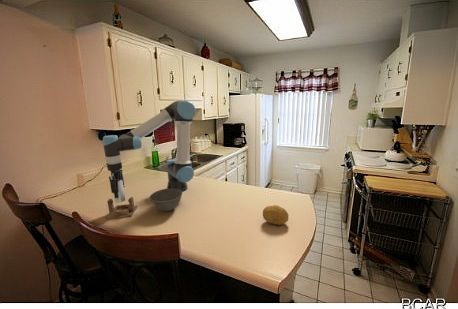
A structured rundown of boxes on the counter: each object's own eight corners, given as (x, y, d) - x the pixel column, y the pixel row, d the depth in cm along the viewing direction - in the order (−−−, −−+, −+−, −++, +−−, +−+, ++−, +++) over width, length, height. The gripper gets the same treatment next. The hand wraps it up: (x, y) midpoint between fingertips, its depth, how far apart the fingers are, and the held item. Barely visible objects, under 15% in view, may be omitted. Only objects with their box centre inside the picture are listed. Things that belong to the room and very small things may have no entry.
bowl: (150, 206, 137) (148, 191, 135) (180, 200, 144) (179, 186, 142) (153, 220, 120) (150, 204, 118) (186, 212, 127) (185, 196, 125)
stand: (137, 207, 137) (135, 193, 135) (131, 216, 125) (129, 202, 123) (114, 209, 136) (112, 195, 134) (106, 218, 124) (103, 204, 122)
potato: (286, 213, 104) (289, 203, 112) (259, 210, 110) (264, 200, 118) (287, 230, 107) (290, 219, 115) (261, 226, 112) (265, 215, 120)
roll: (126, 198, 132) (123, 179, 129) (123, 202, 126) (120, 182, 123) (117, 199, 131) (113, 180, 128) (113, 203, 126) (110, 183, 123)
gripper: (113, 159, 132) (119, 194, 137) (99, 167, 114) (106, 208, 119) (126, 158, 133) (131, 193, 138) (114, 166, 115) (121, 206, 120)
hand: (120, 200), depth 129 cm, fingers closed on roll, 5 cm apart
